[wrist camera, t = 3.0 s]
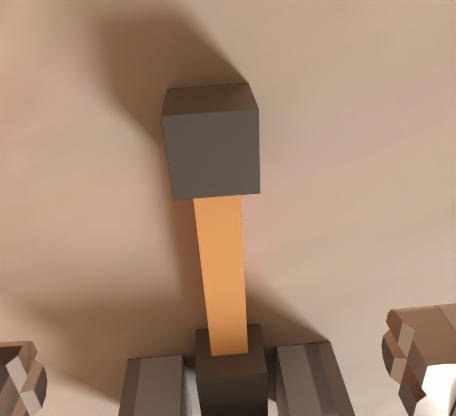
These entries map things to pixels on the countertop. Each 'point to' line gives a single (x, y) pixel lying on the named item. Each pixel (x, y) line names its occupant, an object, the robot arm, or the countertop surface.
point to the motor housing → (285, 384)
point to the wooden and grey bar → (220, 235)
